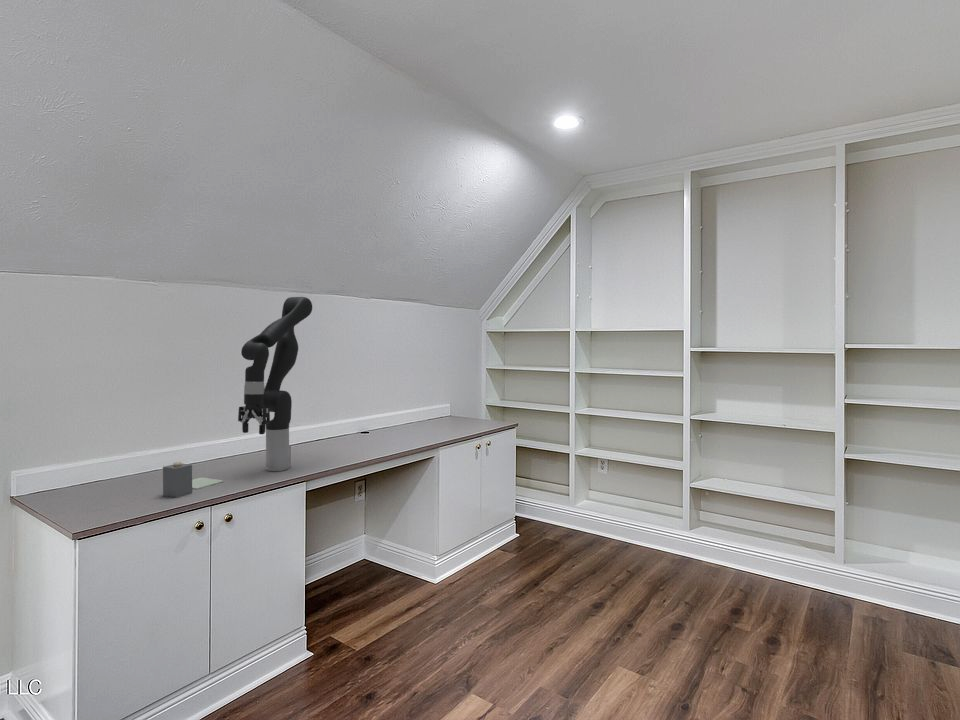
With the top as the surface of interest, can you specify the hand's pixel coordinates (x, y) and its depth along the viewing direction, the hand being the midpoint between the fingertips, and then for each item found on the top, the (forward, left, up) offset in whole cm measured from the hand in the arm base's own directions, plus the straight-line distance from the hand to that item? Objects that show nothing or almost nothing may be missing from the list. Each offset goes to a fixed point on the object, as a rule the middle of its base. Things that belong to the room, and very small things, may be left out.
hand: (253, 433), depth 220 cm
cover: (+31, -4, -17) cm, 35 cm away
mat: (+18, -9, -17) cm, 26 cm away
